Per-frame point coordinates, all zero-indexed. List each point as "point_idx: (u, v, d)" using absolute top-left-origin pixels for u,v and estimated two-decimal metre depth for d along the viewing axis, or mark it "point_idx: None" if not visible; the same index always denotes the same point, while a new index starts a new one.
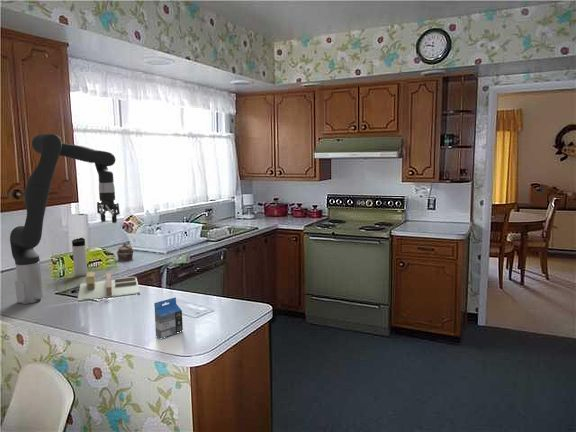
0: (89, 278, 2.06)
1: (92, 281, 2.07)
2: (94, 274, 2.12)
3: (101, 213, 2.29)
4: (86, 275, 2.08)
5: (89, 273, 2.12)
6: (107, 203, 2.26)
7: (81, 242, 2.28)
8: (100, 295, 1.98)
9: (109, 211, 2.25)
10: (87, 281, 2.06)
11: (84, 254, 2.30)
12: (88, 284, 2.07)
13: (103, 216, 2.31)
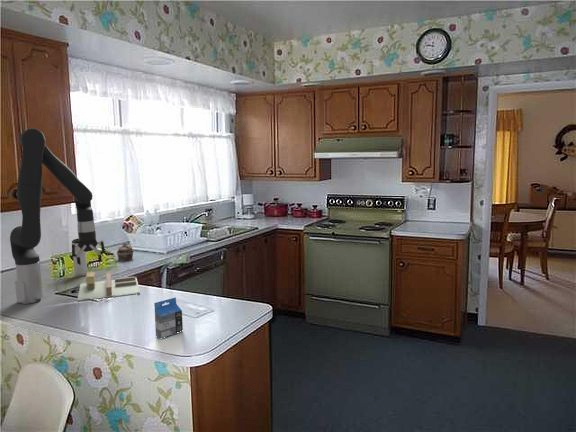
0: (89, 278, 2.06)
1: (92, 281, 2.07)
2: (94, 274, 2.12)
3: None
4: (86, 275, 2.08)
5: (89, 273, 2.12)
6: None
7: None
8: (100, 295, 1.98)
9: None
10: (87, 281, 2.06)
11: (84, 254, 2.30)
12: (88, 284, 2.07)
13: (98, 256, 2.11)
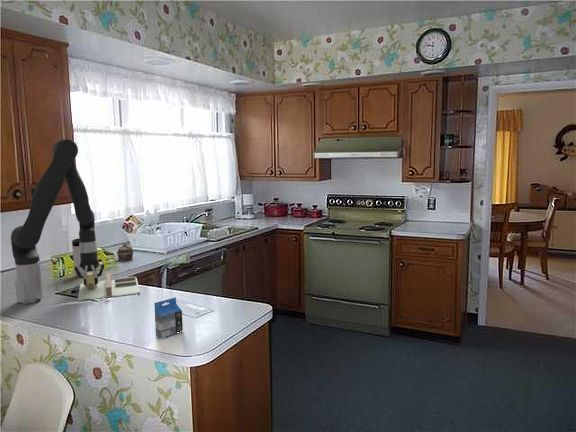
0: (89, 278, 2.06)
1: (92, 281, 2.07)
2: None
3: None
4: (86, 275, 2.08)
5: (89, 273, 2.12)
6: None
7: None
8: (100, 295, 1.98)
9: None
10: (87, 281, 2.06)
11: None
12: (88, 284, 2.07)
13: None
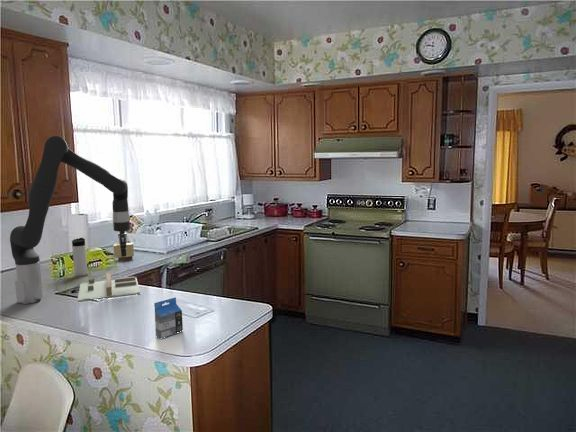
0: (113, 246, 2.12)
1: None
2: (126, 246, 2.12)
3: None
4: None
5: (126, 243, 2.14)
6: (124, 232, 2.14)
7: (81, 242, 2.28)
8: (100, 295, 1.98)
9: None
10: None
11: (84, 254, 2.30)
12: None
13: None
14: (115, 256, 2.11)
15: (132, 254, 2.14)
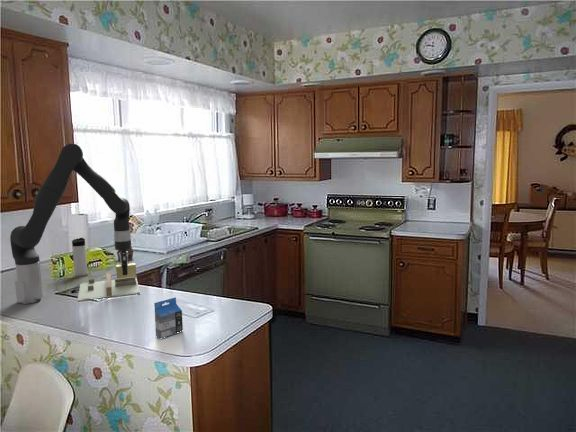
0: (116, 267, 2.14)
1: (116, 271, 2.13)
2: (129, 266, 2.14)
3: None
4: (121, 264, 2.16)
5: (129, 264, 2.16)
6: None
7: (81, 242, 2.28)
8: (100, 295, 1.98)
9: None
10: None
11: (84, 254, 2.30)
12: (116, 272, 2.15)
13: None
14: (118, 277, 2.13)
15: (134, 274, 2.16)
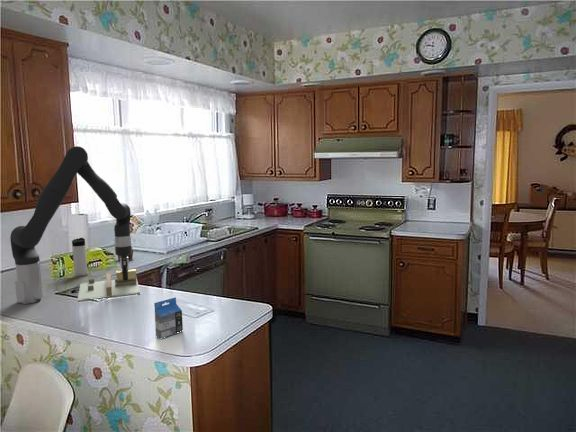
0: (116, 273, 2.14)
1: None
2: (129, 272, 2.15)
3: None
4: None
5: (129, 270, 2.16)
6: None
7: (81, 242, 2.28)
8: (100, 295, 1.98)
9: None
10: None
11: (84, 254, 2.30)
12: None
13: None
14: None
15: None
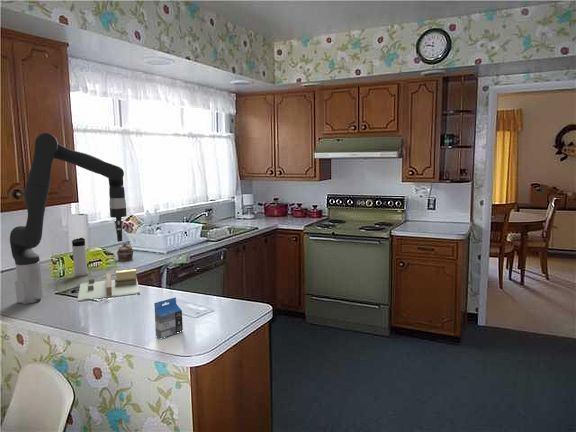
0: (116, 273, 2.14)
1: None
2: (129, 272, 2.15)
3: None
4: (122, 270, 2.16)
5: (129, 270, 2.16)
6: (121, 219, 2.17)
7: (81, 242, 2.28)
8: (100, 295, 1.98)
9: None
10: None
11: (84, 254, 2.30)
12: None
13: None
14: None
15: None
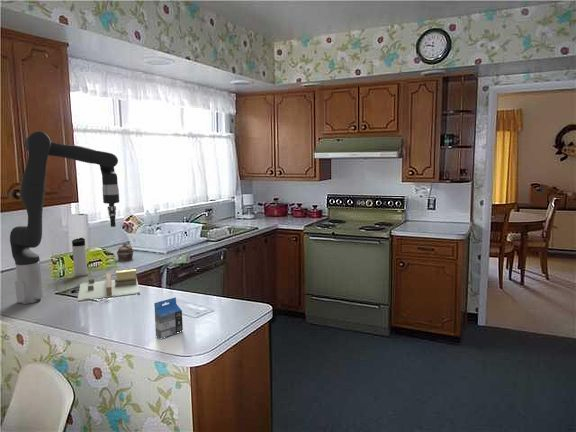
0: (116, 273, 2.14)
1: None
2: (129, 272, 2.15)
3: (115, 217, 2.18)
4: (122, 270, 2.16)
5: (129, 270, 2.16)
6: None
7: (81, 242, 2.28)
8: (100, 295, 1.98)
9: None
10: None
11: (84, 254, 2.30)
12: None
13: None
14: None
15: None
